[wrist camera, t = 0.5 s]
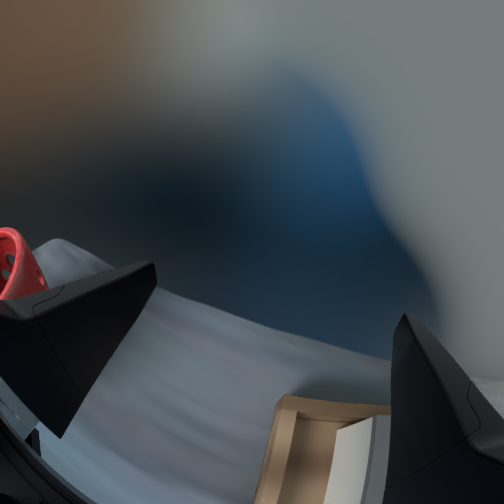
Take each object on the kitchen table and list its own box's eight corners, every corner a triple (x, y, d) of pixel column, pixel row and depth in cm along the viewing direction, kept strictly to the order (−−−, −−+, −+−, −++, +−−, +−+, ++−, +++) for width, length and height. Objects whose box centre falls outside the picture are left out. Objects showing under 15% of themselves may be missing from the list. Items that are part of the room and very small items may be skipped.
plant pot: (98, 316, 25) (50, 232, 16) (54, 423, 16) (-34, 379, 7) (27, 286, 25) (-16, 216, 17) (-15, 369, 16) (-79, 311, 8)
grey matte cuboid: (374, 507, 13) (423, 513, 7) (321, 510, 13) (358, 526, 8) (385, 431, 18) (433, 413, 13) (337, 429, 19) (377, 415, 13)
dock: (417, 509, 12) (440, 510, 9) (248, 516, 13) (252, 526, 11) (428, 413, 19) (449, 403, 17) (276, 403, 21) (284, 394, 18)
